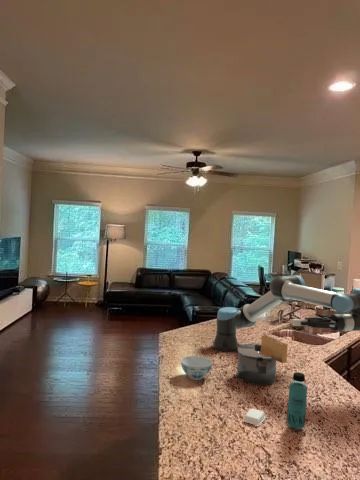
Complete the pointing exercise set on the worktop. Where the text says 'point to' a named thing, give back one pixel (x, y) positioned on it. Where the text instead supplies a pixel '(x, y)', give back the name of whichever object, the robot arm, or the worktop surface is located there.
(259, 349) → the lid
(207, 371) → the chinaware
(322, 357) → the worktop surface
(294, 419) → the beverage bottle
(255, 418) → the soap
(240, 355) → the pot
